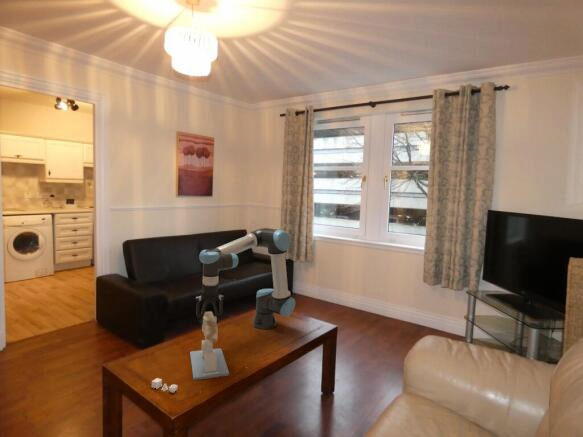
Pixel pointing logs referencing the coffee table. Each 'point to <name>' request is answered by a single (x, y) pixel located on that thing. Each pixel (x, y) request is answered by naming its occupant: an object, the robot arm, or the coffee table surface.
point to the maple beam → (210, 328)
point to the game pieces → (158, 383)
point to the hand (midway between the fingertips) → (209, 330)
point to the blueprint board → (200, 365)
